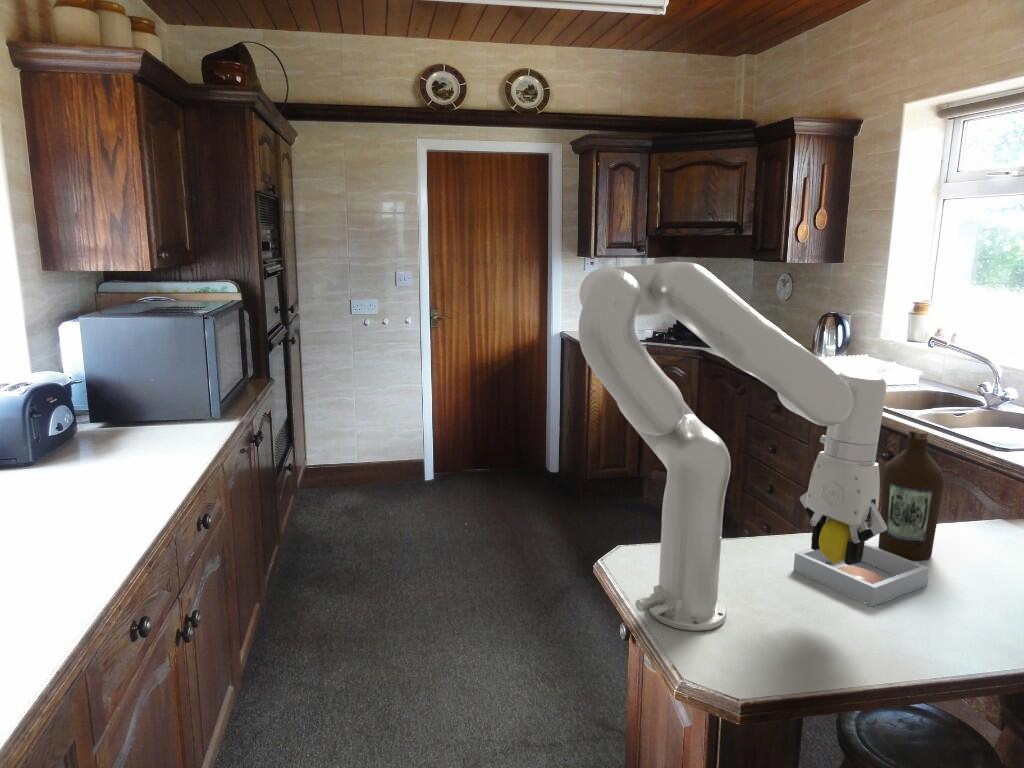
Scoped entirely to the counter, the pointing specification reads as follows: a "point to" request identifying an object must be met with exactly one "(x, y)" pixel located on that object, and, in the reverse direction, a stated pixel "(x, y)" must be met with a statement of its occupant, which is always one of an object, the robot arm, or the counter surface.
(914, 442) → the brown glass bottle
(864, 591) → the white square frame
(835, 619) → the counter surface
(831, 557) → the lemon
